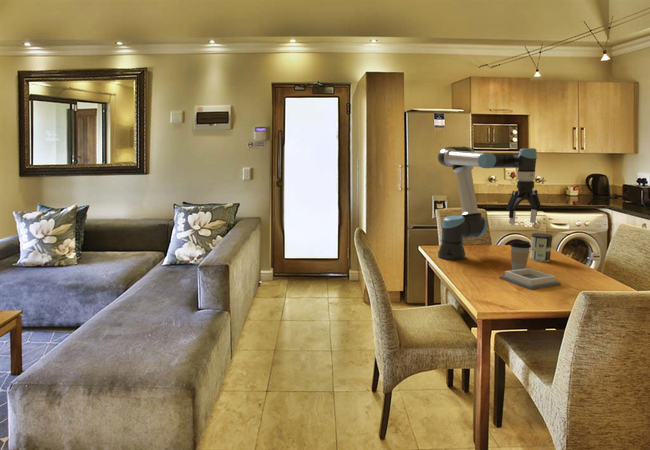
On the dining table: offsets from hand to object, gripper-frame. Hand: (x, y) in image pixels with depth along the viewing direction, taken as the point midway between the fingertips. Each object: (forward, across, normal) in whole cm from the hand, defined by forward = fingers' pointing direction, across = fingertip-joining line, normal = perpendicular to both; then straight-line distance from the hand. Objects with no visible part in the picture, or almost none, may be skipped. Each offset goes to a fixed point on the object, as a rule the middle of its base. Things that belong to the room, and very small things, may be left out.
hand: (522, 223), depth 202 cm
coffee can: (+24, +29, +13) cm, 40 cm away
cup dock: (+24, -9, -15) cm, 30 cm away
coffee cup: (+24, 0, 0) cm, 25 cm away
